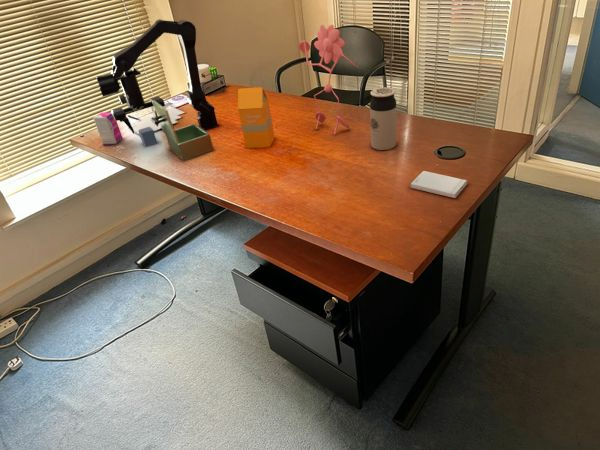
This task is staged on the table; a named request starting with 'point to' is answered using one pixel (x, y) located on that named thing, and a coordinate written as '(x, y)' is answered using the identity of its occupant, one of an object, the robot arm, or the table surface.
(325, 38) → the figurine
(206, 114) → the robot arm
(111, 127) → the supplement box
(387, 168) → the table surface
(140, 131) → the blue-grey block
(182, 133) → the waste bin
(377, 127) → the travel mug
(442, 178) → the hard drive
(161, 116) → the bin lid
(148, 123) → the paper stack
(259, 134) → the orange juice
